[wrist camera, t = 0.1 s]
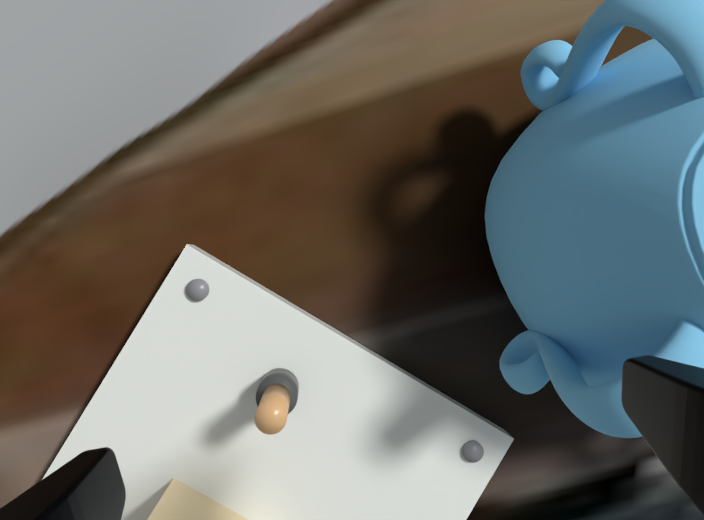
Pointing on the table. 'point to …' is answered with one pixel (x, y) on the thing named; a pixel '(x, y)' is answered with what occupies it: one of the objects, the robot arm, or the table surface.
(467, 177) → the table surface
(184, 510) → the beige block
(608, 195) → the decorative pot
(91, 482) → the robot arm
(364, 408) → the junction plate
